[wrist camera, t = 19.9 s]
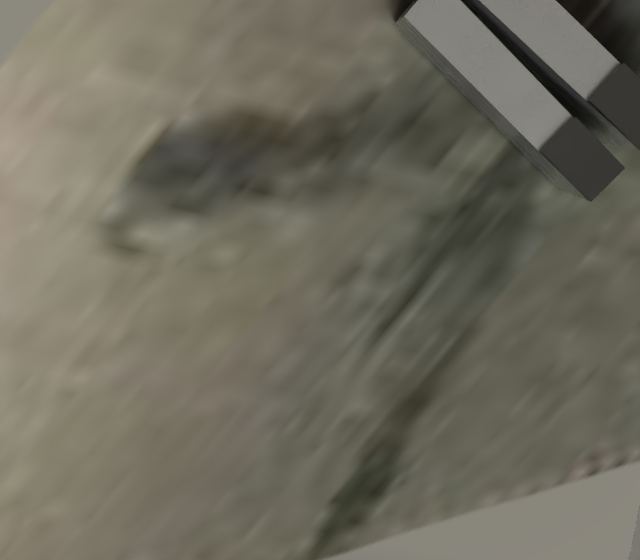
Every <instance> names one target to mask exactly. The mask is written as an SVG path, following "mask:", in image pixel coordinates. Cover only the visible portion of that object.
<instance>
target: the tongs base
mask: <svg viewBox="0 0 640 560" xmlns="http://www.w3.org/2000/svg"><path fill="white" fill-rule="evenodd" d="M461 1H462V2H463V3H464V4H465V5H466V6H467V7H468V9H469V10H470V11H471V12H472V13H473V14H474V15H475V16H476V17H477V18H478V19H479V20H480V21H481V22H482V23H483V24H484V25H485V26H486V27H487V28H488V29H489V30H490V31H491V32H492V33H493V34H494V36H495V37H496V38H497V39H498V40H499V41H500V42H501V43H502V44H503V45H504V46H505V47H506V48H507V49H508V50H509V51H510V52H511V53H512V54H513V55H514V56H515V57H516V58H517V59H518V60H519V61H520V63H521V64H522V65H523V66H524V67H525V68H526V69H527V70H528V71H529V72H530V73H531V74H532V75H533V76H534V77H535V78H536V79H537V80H538V81H539V82H540V83H541V84H542V85H543V86H544V87H545V88H546V89H547V91H548V92H549V93H550V94H551V95H552V96H553V97H554V98H555V99H556V100H557V101H558V102H559V103H560V104H561V105H562V106H563V107H564V108H565V109H566V110H567V111H568V112H569V113H570V114H571V115H572V116H573V117H577V119H578V120H579V121H580V122H581V123H582V124H583V125H584V126H585V127H586V128H587V129H588V130H589V131H590V132H591V133H592V134H593V135H594V136H595V137H596V138H597V139H598V140H599V141H601V142H602V143H603V144H609V145H615V146H621V147H627V148H633V149H639V150H640V78H639V77H638V76H637V75H636V74H635V73H634V72H633V71H632V70H631V69H630V68H629V67H628V66H627V65H626V64H625V63H620V62H619V61H618V60H617V59H616V58H614V57H613V56H612V55H611V54H610V53H609V52H608V51H607V50H606V49H605V48H604V47H603V46H602V45H601V44H600V43H599V42H598V41H597V40H596V39H595V38H594V37H593V36H592V35H591V34H590V33H589V32H588V31H587V30H586V29H585V28H584V27H583V26H582V25H581V24H580V23H578V22H577V21H576V20H575V19H574V18H573V17H572V16H571V15H570V14H569V13H568V12H567V11H566V10H565V9H564V8H563V7H562V6H561V5H560V4H559V3H558V2H557V1H556V0H461Z"/></svg>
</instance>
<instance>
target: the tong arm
mask: <svg viewBox="0 0 640 560" xmlns="http://www.w3.org/2000/svg"><path fill="white" fill-rule="evenodd" d="M393 25H394V26H395V27H396V28H397V29H398V30H399V31H400V32H401V33H402V34H403V35H404V36H405V37H406V38H407V39H408V40H409V41H410V42H411V43H412V44H413V45H414V46H415V47H416V48H417V49H419V50H420V51H421V52H422V53H423V54H424V55H425V56H426V57H427V58H428V59H429V60H430V61H431V62H432V63H433V64H434V65H435V66H436V67H437V68H438V69H439V70H440V71H441V72H442V73H443V74H444V75H445V76H446V77H447V78H448V79H449V80H450V81H451V82H452V83H453V84H454V85H455V86H456V87H457V88H458V89H459V90H460V91H461V92H462V93H463V94H464V95H465V96H466V97H467V98H468V99H469V100H470V101H471V102H472V103H473V104H474V105H475V106H476V107H477V108H478V109H479V110H480V111H481V112H482V113H483V114H484V115H485V116H486V117H487V118H488V119H489V120H490V121H491V122H492V123H493V124H494V125H495V126H496V127H497V128H498V129H499V130H500V131H501V132H502V133H503V134H504V135H505V136H506V137H507V138H508V139H509V140H510V141H511V142H512V143H513V144H514V145H515V146H516V147H517V148H518V149H519V150H520V151H521V152H522V153H523V154H524V155H525V156H526V157H527V158H528V159H529V160H530V161H531V162H532V163H533V164H534V165H536V166H537V167H538V168H539V169H540V170H541V171H542V172H543V173H544V174H545V175H546V176H547V177H548V178H549V179H550V180H551V181H552V182H553V183H554V184H555V185H556V186H557V187H558V188H559V189H560V190H561V191H564V192H567V193H569V194H572V195H575V196H577V197H580V198H583V199H586V200H588V201H592V200H593V199H594V198H595V197H596V196H597V195H598V194H599V193H600V192H601V191H602V190H603V189H604V188H605V187H606V186H607V185H608V184H609V183H610V182H611V181H612V180H614V179H615V178H616V177H617V176H618V175H619V174H620V173H621V172H622V171H623V170H624V169H625V167H624V166H623V165H622V164H621V163H620V162H619V161H618V160H617V159H616V158H615V157H614V156H613V155H612V154H611V153H610V152H609V151H608V150H607V149H606V148H605V147H604V146H603V145H602V143H601V142H600V141H599V140H598V139H597V138H596V137H595V136H594V135H593V134H592V133H591V132H590V131H589V130H588V129H587V128H586V127H585V126H584V125H583V124H582V123H581V122H580V121H579V120H578V119H577V117H573V116H572V115H571V114H570V113H569V112H568V111H567V110H566V109H565V108H564V107H563V106H562V105H561V104H560V103H559V102H558V101H557V100H556V99H555V98H554V97H553V96H552V95H551V94H550V93H549V92H548V91H547V89H546V88H545V87H544V86H543V85H542V84H541V83H540V82H539V81H538V80H537V79H536V78H535V77H534V76H533V75H532V74H531V73H530V72H529V71H528V70H527V69H526V68H525V67H524V66H523V65H522V64H521V63H520V61H519V60H518V59H517V58H516V57H515V56H514V55H513V54H512V53H511V52H510V51H509V50H508V49H507V48H506V47H505V46H504V45H503V44H502V43H501V42H500V41H499V40H498V39H497V38H496V37H495V36H494V34H493V33H492V32H491V31H490V30H489V29H488V28H487V27H486V26H485V25H484V24H483V23H482V22H481V21H480V20H479V19H478V18H477V17H476V16H475V15H474V14H473V13H472V12H471V11H470V10H469V9H468V7H467V6H466V5H465V4H464V3H463V2H462V1H461V0H414V1H413V2H412V3H411V4H410V5H409V6H408V8H407V9H406V10H405V11H404V12H403V14H402V15H401V16H400V17H399V18H398V19H397V21H396V22H395V23H394V24H393Z"/></svg>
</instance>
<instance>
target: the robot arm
mask: <svg viewBox="0 0 640 560" xmlns="http://www.w3.org/2000/svg"><path fill="white" fill-rule="evenodd" d="M629 560H640V506H639V512H638V516H637V521H636V526H635V531H634V536H633V541H632V547H631V551H630V556H629Z"/></svg>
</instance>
